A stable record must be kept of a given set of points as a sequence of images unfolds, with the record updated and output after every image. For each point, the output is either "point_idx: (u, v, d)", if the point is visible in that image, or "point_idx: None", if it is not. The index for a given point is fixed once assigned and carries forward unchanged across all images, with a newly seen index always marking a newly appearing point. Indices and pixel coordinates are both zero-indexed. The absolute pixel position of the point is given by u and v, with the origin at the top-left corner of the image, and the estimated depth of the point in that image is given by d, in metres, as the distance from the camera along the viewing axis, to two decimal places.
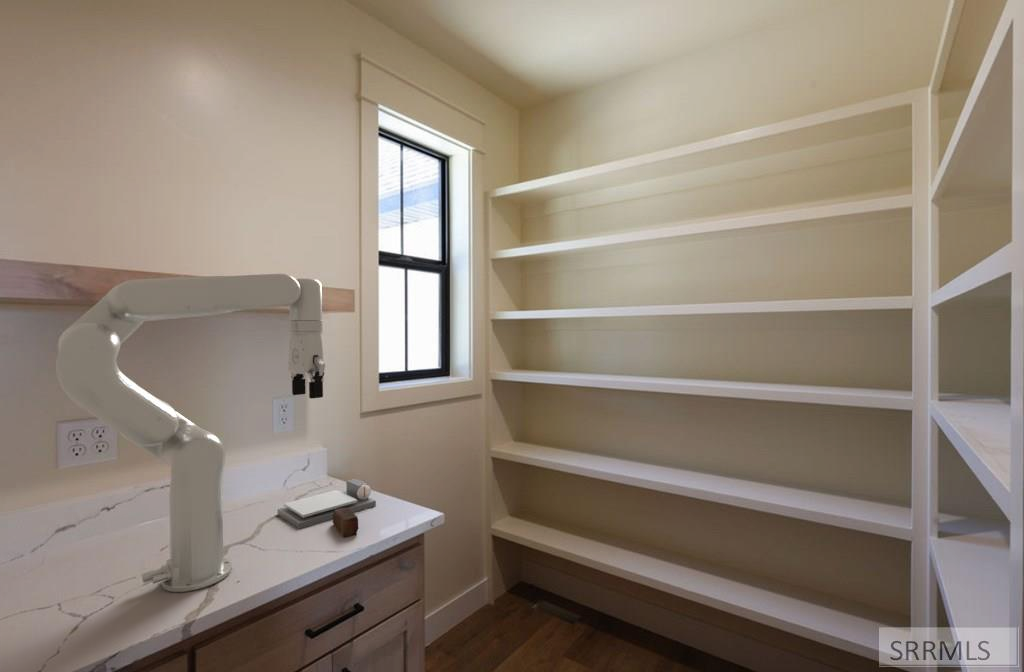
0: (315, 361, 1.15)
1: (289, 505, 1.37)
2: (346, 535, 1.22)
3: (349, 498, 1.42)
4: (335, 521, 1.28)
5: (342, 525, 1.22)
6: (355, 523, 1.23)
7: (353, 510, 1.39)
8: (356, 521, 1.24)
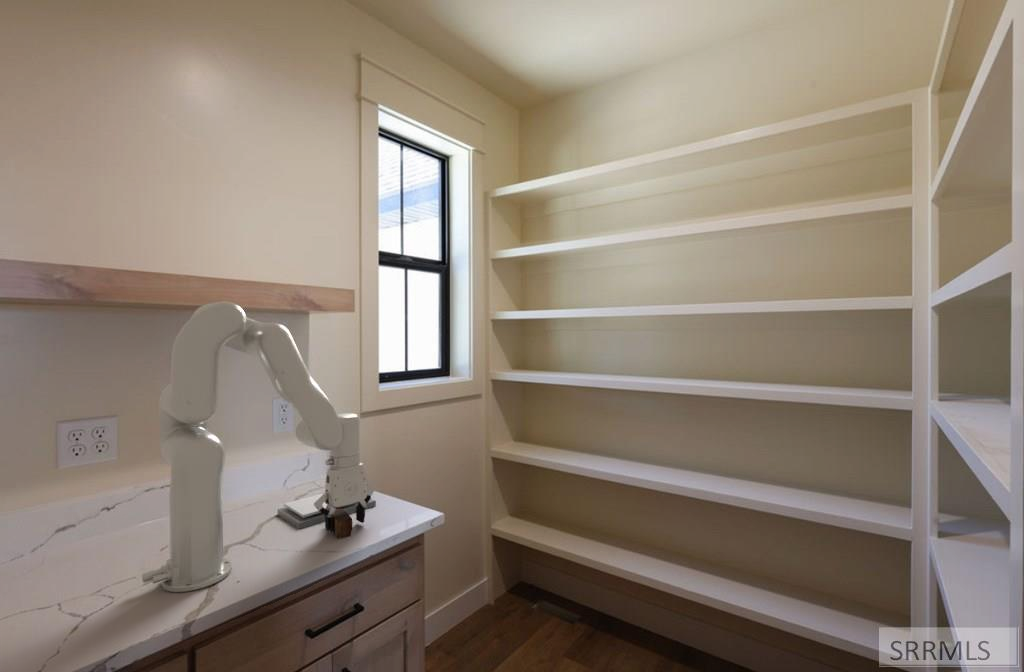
0: (366, 487, 1.31)
1: (289, 505, 1.37)
2: (340, 536, 1.21)
3: None
4: None
5: (336, 526, 1.22)
6: (349, 524, 1.23)
7: (353, 510, 1.39)
8: (350, 522, 1.23)
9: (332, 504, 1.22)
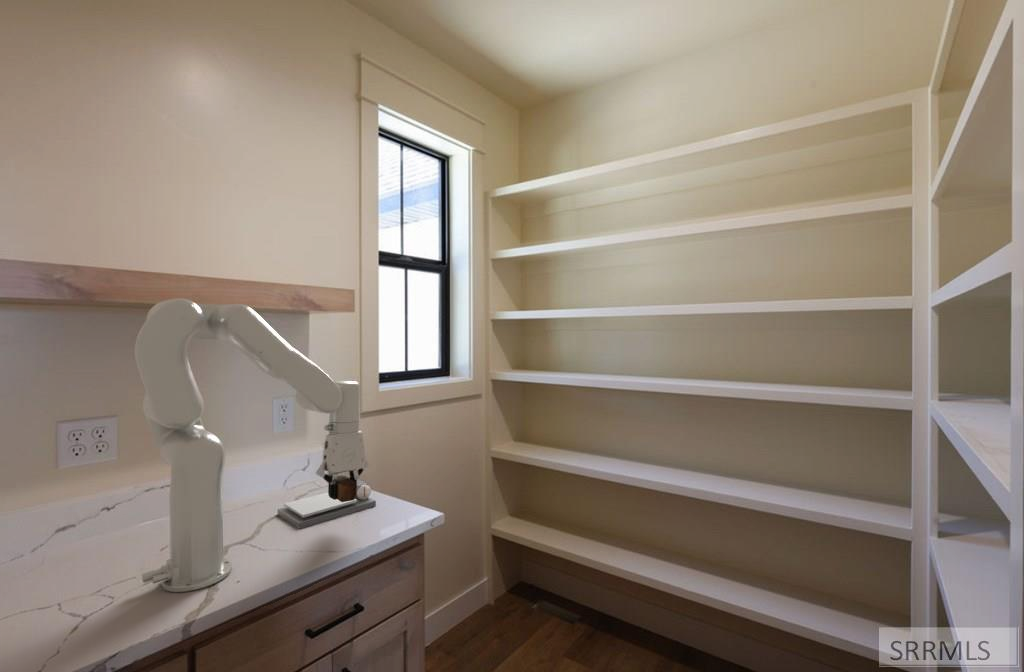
0: None
1: (289, 505, 1.37)
2: (344, 500, 1.22)
3: None
4: None
5: (340, 490, 1.22)
6: (353, 488, 1.23)
7: (353, 510, 1.39)
8: (354, 486, 1.23)
9: (330, 469, 1.21)
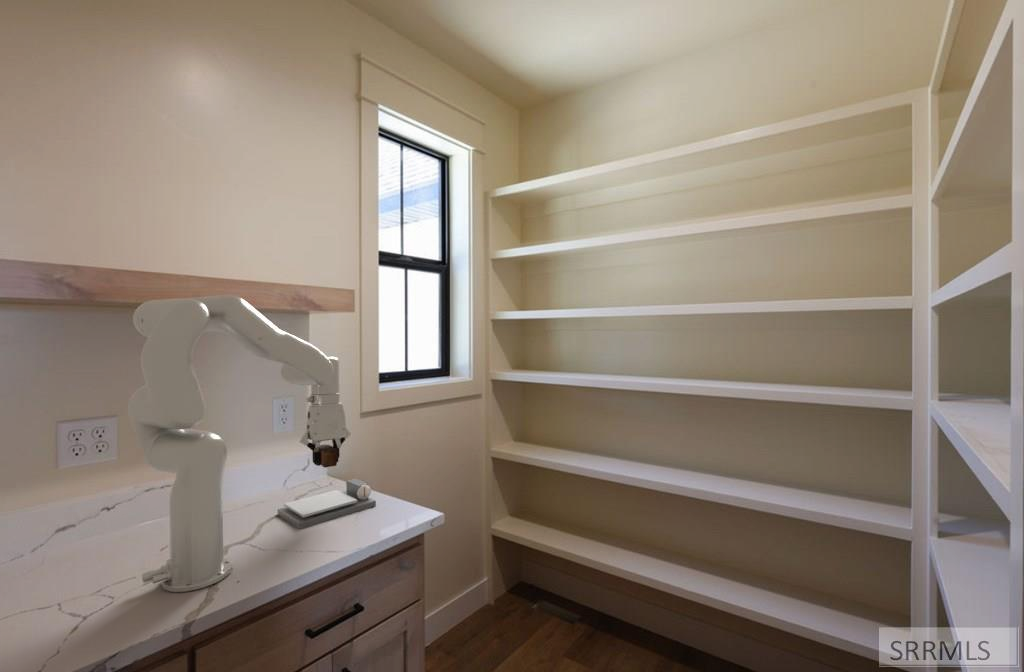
0: None
1: (289, 505, 1.37)
2: (326, 465, 1.32)
3: (349, 498, 1.42)
4: None
5: (323, 456, 1.32)
6: (335, 455, 1.33)
7: (353, 510, 1.39)
8: (336, 453, 1.33)
9: (312, 438, 1.31)
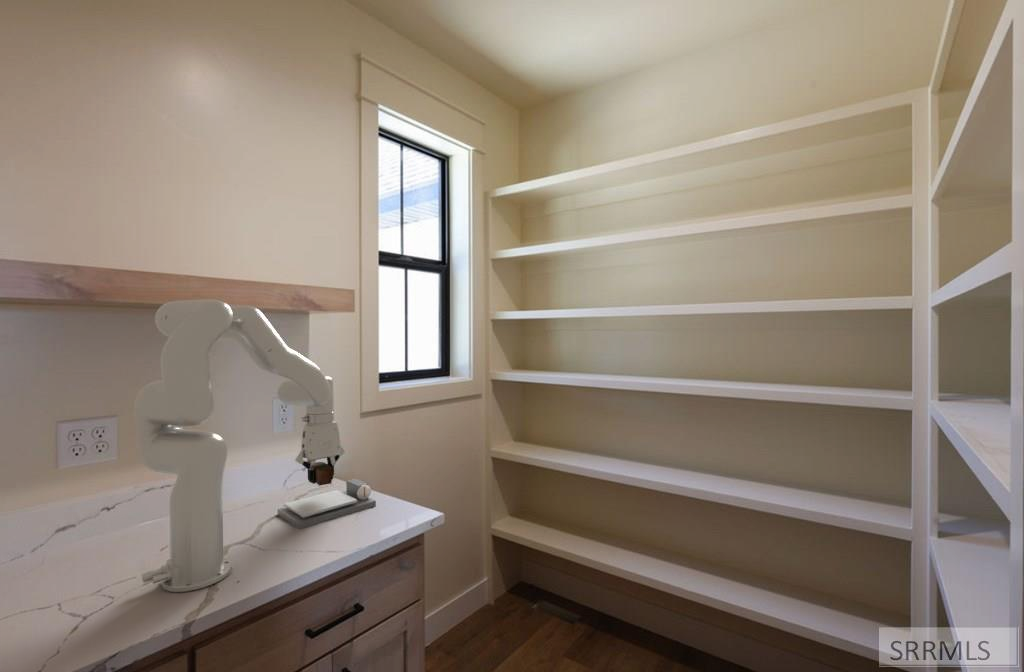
0: None
1: (289, 505, 1.37)
2: (321, 483, 1.35)
3: (349, 498, 1.42)
4: None
5: (318, 474, 1.35)
6: (330, 473, 1.36)
7: (353, 510, 1.39)
8: (331, 471, 1.36)
9: (308, 456, 1.34)
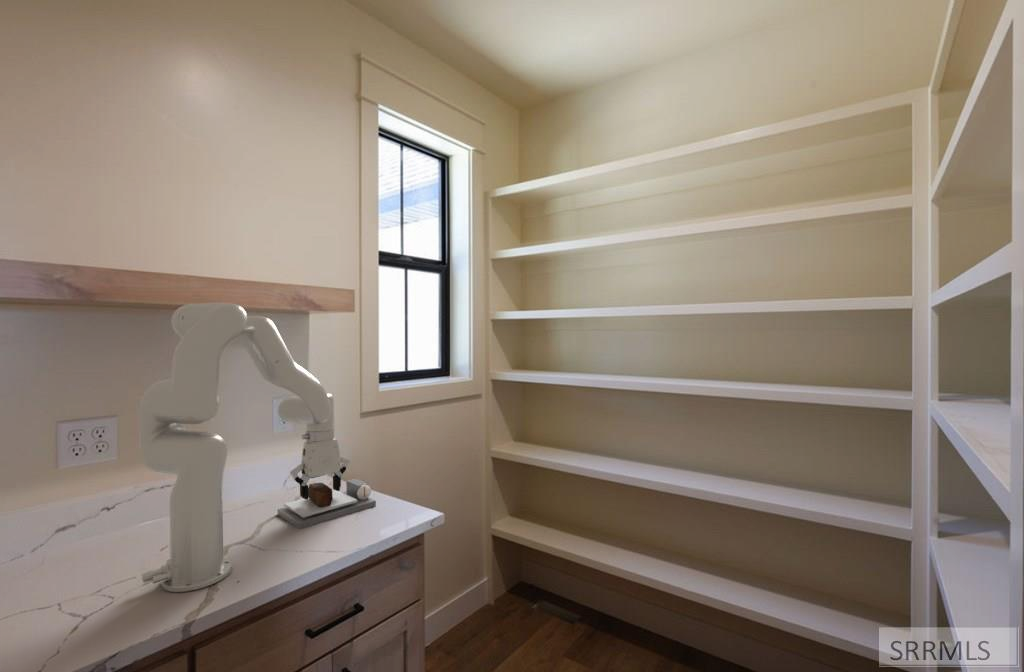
0: (341, 459, 1.43)
1: (289, 505, 1.37)
2: (321, 505, 1.35)
3: (349, 498, 1.42)
4: (310, 494, 1.40)
5: (318, 496, 1.35)
6: (330, 494, 1.36)
7: (353, 510, 1.39)
8: (330, 492, 1.36)
9: (308, 474, 1.34)
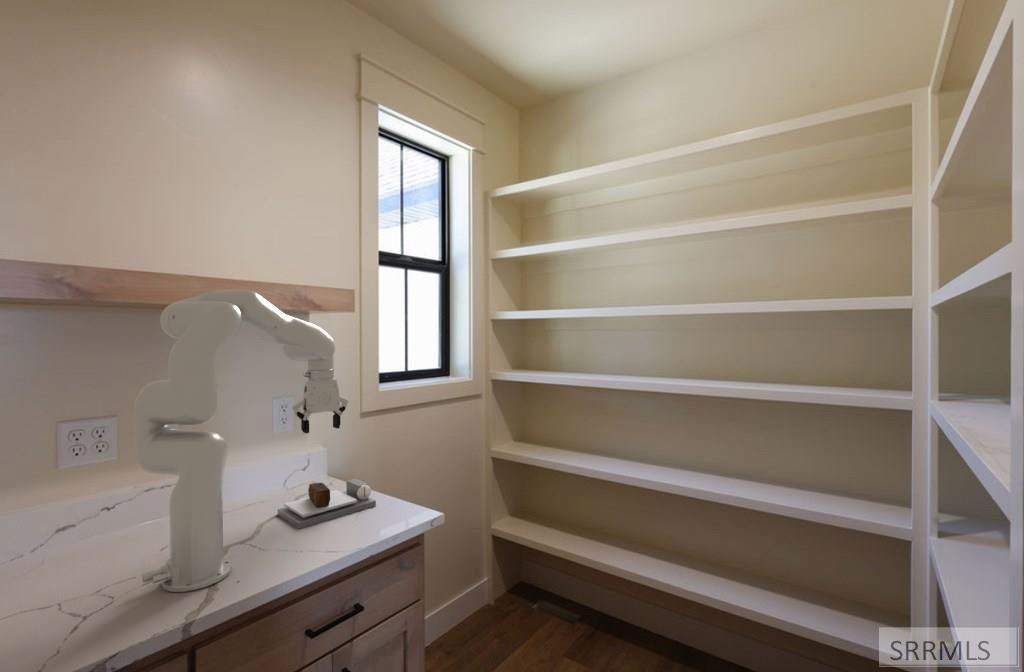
0: (340, 399, 1.52)
1: (289, 505, 1.37)
2: (319, 505, 1.34)
3: (349, 498, 1.42)
4: (310, 494, 1.40)
5: (315, 496, 1.35)
6: (327, 494, 1.36)
7: (353, 510, 1.39)
8: (328, 493, 1.36)
9: (309, 409, 1.43)
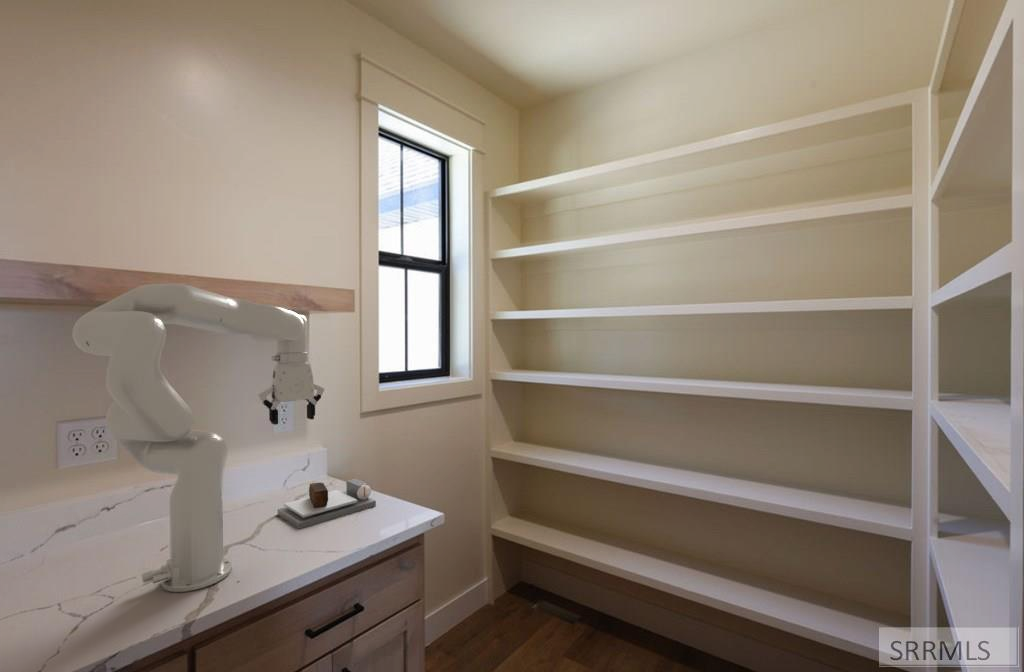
0: (315, 386, 1.35)
1: (289, 505, 1.37)
2: (316, 506, 1.34)
3: (349, 498, 1.42)
4: (310, 494, 1.40)
5: (313, 497, 1.35)
6: (325, 495, 1.35)
7: (353, 510, 1.39)
8: (326, 493, 1.36)
9: (277, 397, 1.25)
